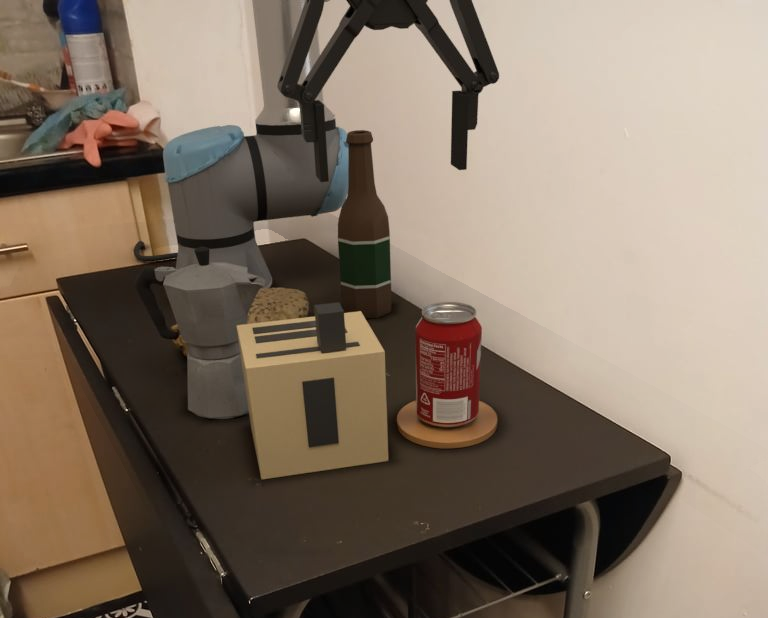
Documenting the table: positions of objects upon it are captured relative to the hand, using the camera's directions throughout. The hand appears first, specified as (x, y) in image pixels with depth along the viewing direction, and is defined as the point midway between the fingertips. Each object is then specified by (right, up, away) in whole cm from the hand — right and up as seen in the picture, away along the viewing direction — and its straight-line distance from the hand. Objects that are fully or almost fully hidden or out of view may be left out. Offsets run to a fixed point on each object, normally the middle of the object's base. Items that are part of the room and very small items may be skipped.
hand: (391, 173), depth 76 cm
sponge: (-19, -10, +31) cm, 37 cm away
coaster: (+6, -23, +10) cm, 26 cm away
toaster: (-8, -26, +7) cm, 28 cm away
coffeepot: (-20, -20, +17) cm, 33 cm away
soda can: (+6, -23, +10) cm, 26 cm away
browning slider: (-6, -17, -2) cm, 18 cm away
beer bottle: (-3, -3, +40) cm, 40 cm away
